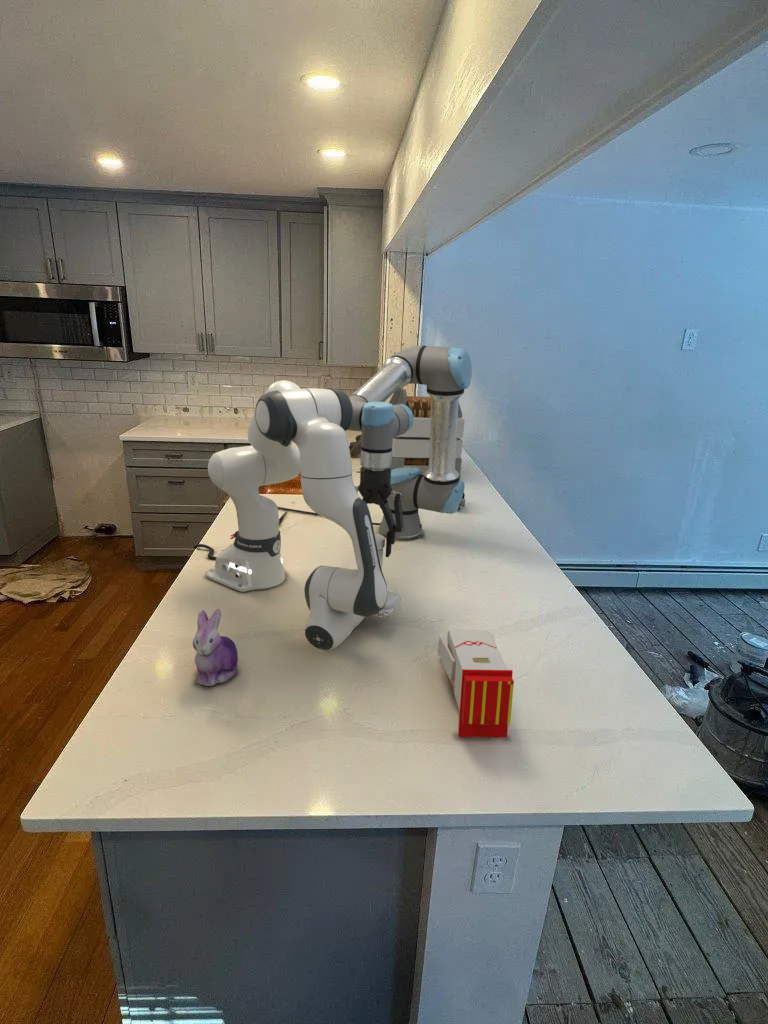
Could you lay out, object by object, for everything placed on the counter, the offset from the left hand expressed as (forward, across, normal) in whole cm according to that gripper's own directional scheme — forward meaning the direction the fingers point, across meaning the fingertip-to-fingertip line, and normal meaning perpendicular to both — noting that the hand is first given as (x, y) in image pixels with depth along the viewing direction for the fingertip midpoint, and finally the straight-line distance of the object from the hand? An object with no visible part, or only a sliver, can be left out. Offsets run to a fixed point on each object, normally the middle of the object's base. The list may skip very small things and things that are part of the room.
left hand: (372, 583), depth 150 cm
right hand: (-1, 0, -9) cm, 9 cm away
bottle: (-1, 0, +6) cm, 6 cm away
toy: (-25, -33, +6) cm, 42 cm away
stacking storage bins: (+128, +31, +6) cm, 132 cm away
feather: (+48, +56, +6) cm, 74 cm away
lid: (-1, 0, -13) cm, 13 cm away
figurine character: (+89, +2, +6) cm, 89 cm away
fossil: (+148, +73, +6) cm, 165 cm away
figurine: (-43, +17, +6) cm, 46 cm away
